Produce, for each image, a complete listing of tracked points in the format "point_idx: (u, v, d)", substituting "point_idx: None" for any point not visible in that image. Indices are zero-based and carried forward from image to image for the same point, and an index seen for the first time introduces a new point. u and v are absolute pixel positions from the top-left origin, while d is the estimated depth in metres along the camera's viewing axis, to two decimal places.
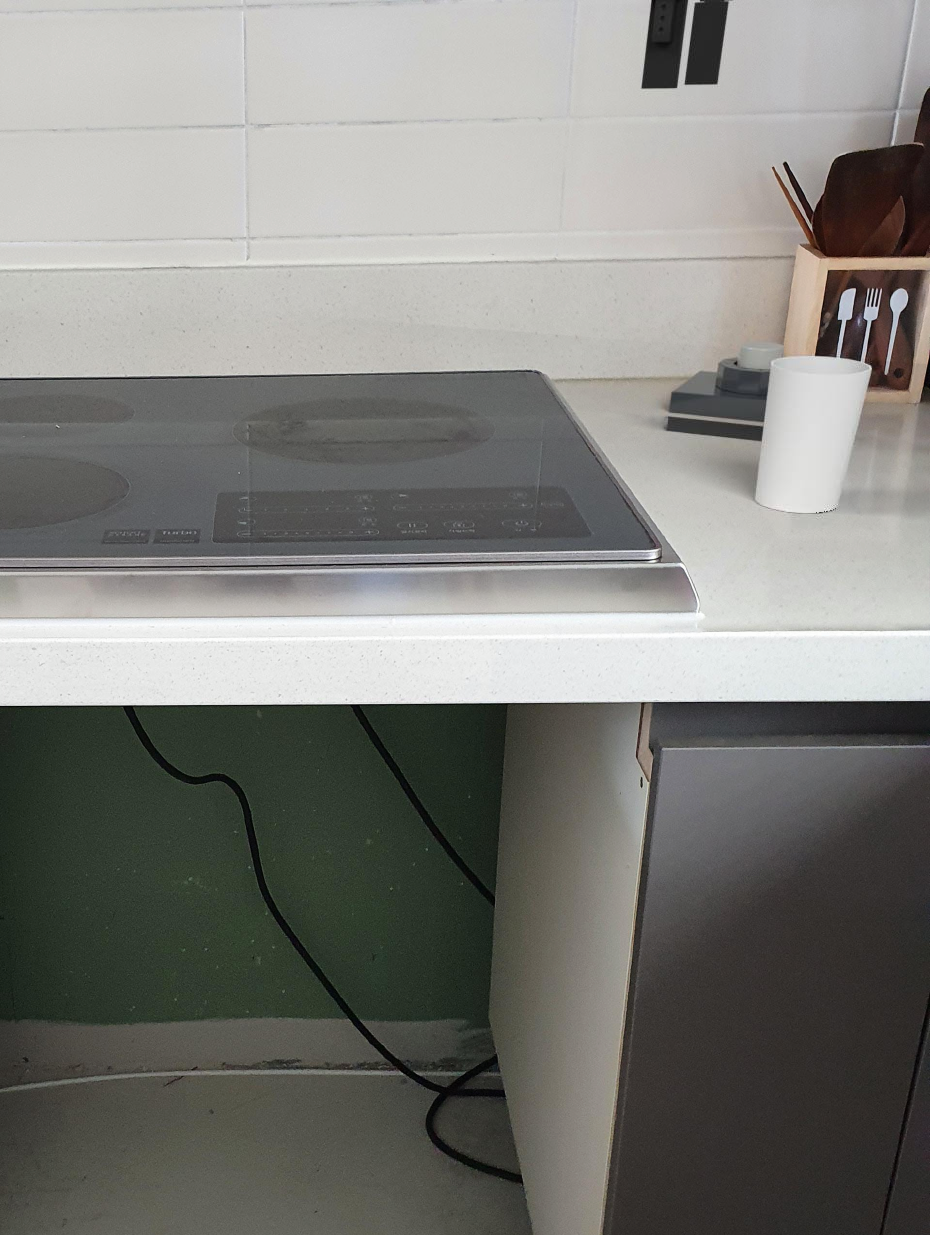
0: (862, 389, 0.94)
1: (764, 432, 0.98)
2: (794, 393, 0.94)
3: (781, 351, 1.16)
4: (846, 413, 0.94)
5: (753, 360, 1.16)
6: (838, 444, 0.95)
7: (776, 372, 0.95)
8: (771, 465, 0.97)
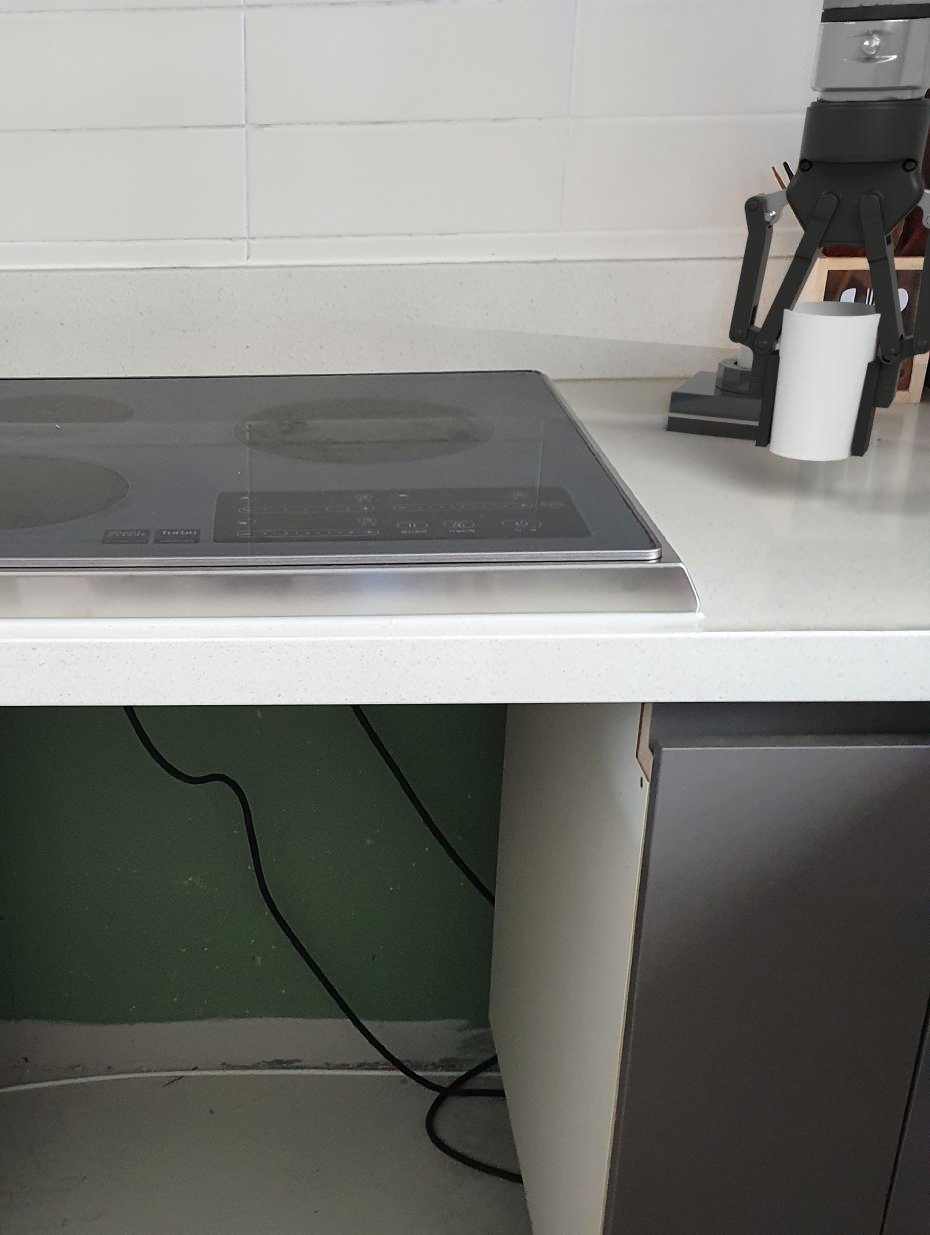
0: (877, 332, 0.92)
1: (778, 378, 0.96)
2: (808, 337, 0.92)
3: None
4: (861, 356, 0.92)
5: None
6: (854, 389, 0.93)
7: (789, 316, 0.93)
8: (785, 412, 0.96)
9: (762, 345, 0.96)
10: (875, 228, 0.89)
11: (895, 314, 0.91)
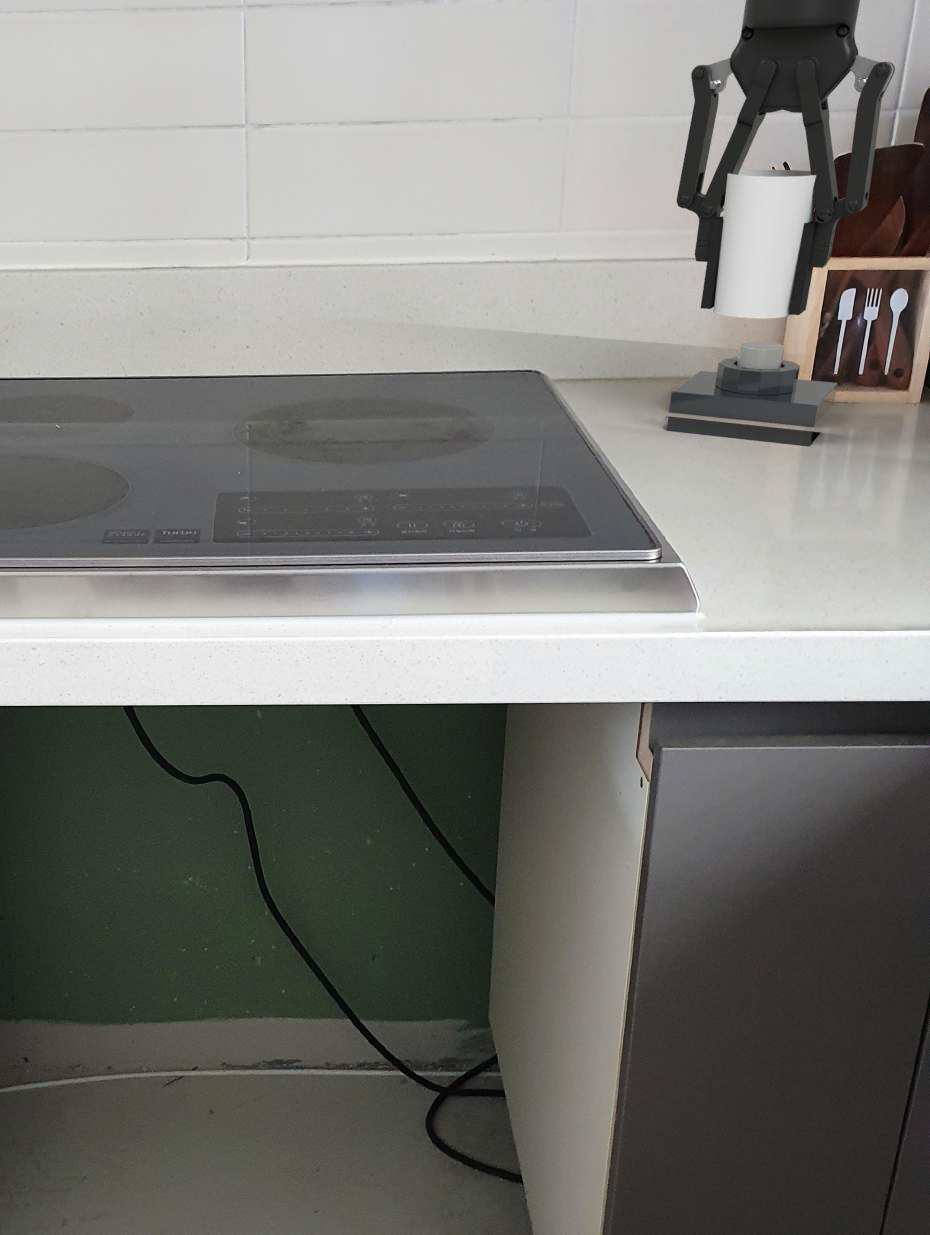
0: (813, 193, 0.98)
1: (722, 241, 1.02)
2: (748, 197, 0.99)
3: (781, 351, 1.16)
4: (798, 216, 0.98)
5: (753, 360, 1.16)
6: (791, 248, 0.99)
7: (732, 179, 1.00)
8: (728, 273, 1.02)
9: (707, 209, 1.02)
10: (811, 92, 0.95)
11: (829, 175, 0.97)
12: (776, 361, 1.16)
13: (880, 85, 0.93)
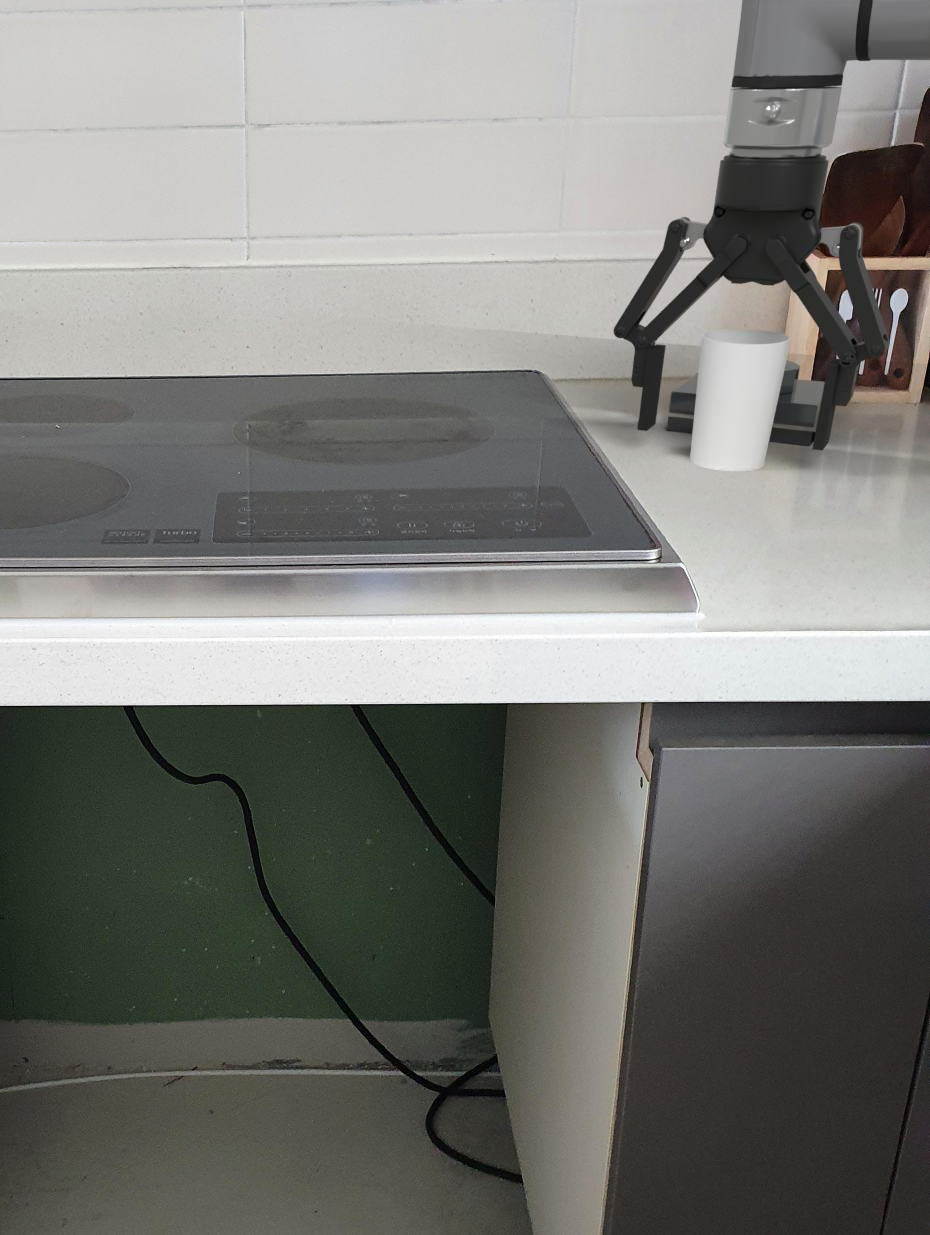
0: (782, 358, 1.04)
1: (697, 397, 1.08)
2: (721, 361, 1.04)
3: None
4: (768, 379, 1.04)
5: None
6: (761, 408, 1.05)
7: (705, 343, 1.05)
8: (702, 427, 1.08)
9: (642, 340, 1.08)
10: (779, 268, 1.01)
11: (837, 324, 1.01)
12: None
13: (854, 245, 0.98)
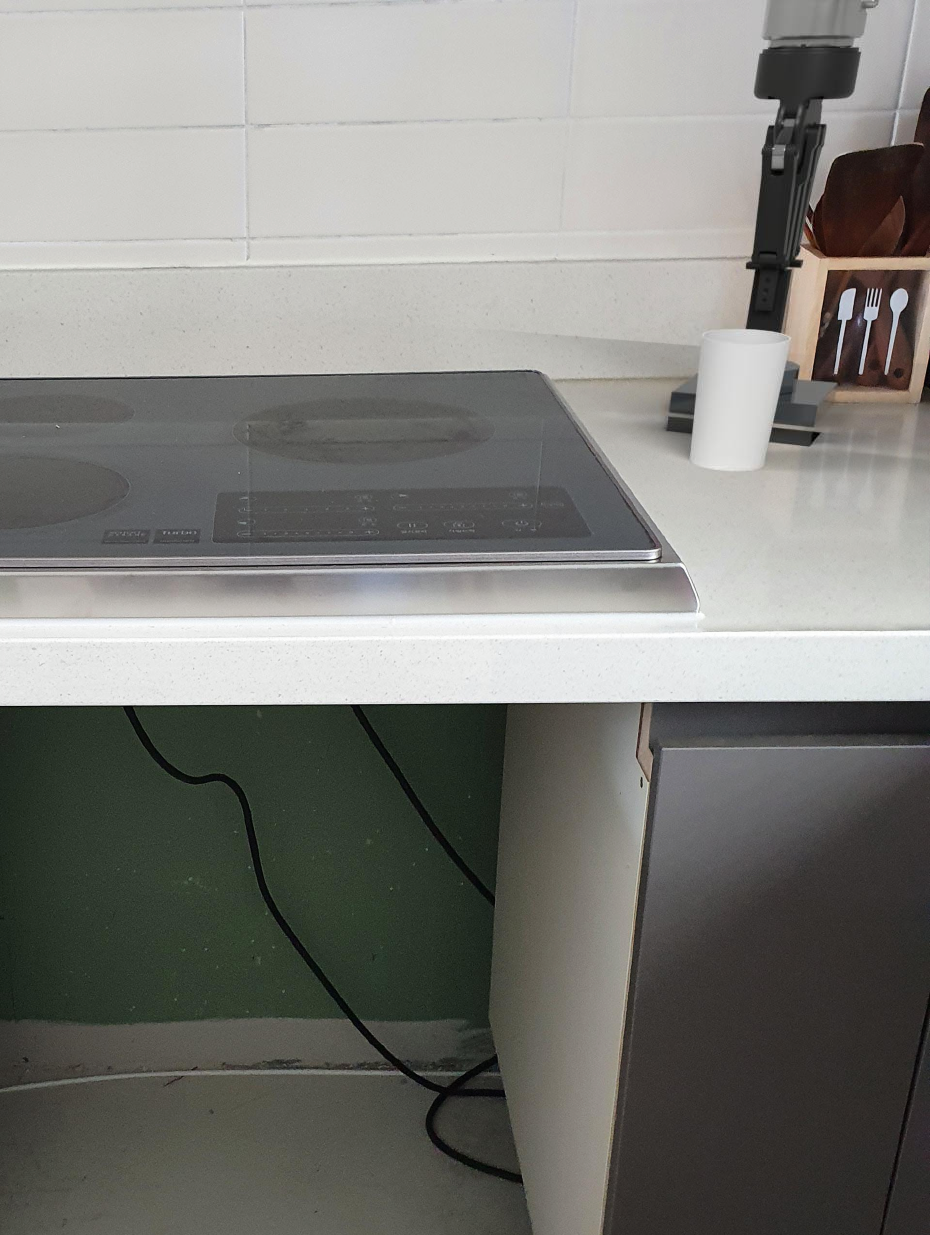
0: (782, 358, 1.04)
1: (697, 397, 1.08)
2: (721, 361, 1.04)
3: None
4: (768, 379, 1.04)
5: None
6: (761, 408, 1.05)
7: (705, 343, 1.05)
8: (702, 428, 1.08)
9: (789, 263, 1.12)
10: (819, 151, 1.11)
11: (798, 228, 1.14)
12: None
13: (819, 154, 1.14)
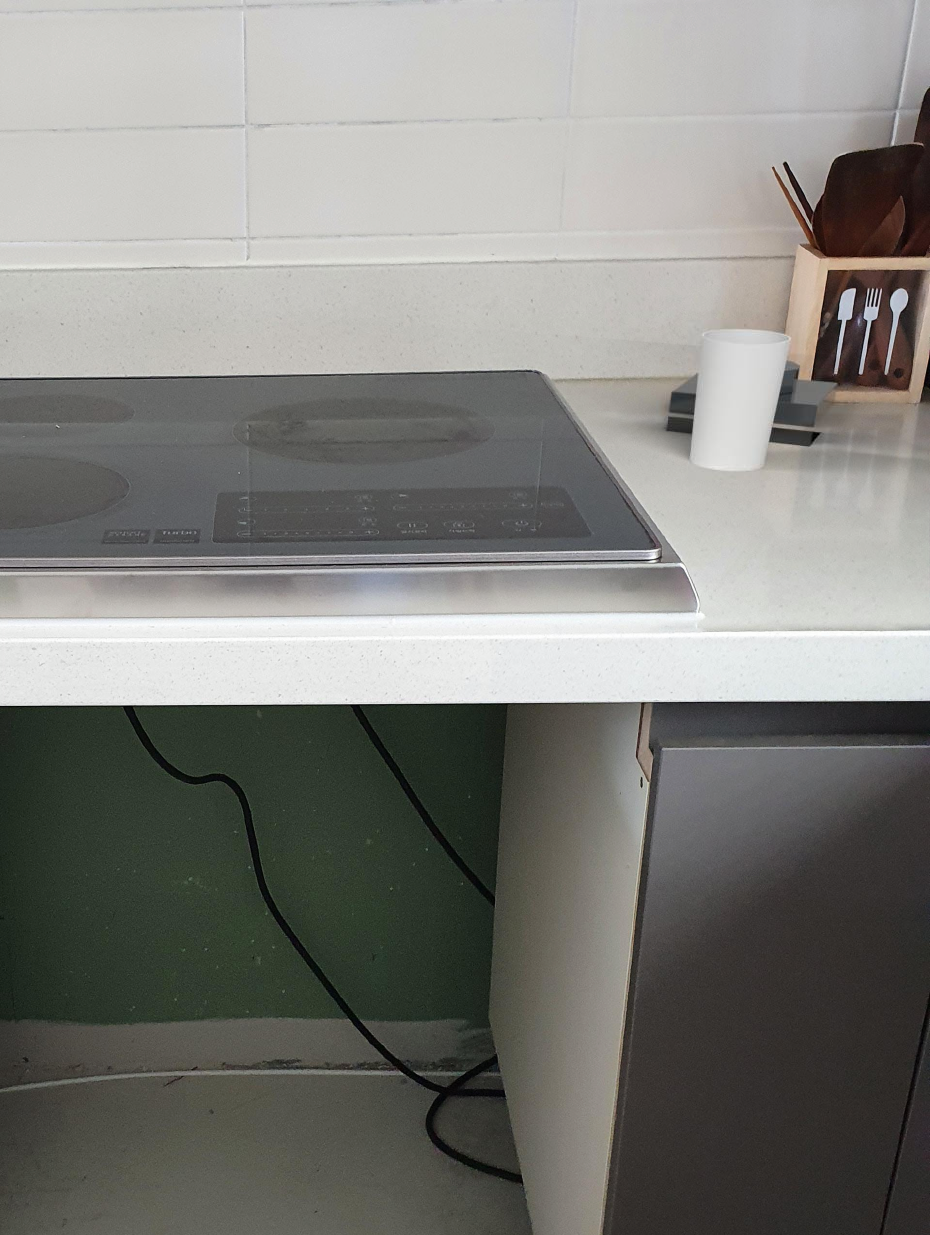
0: (782, 358, 1.04)
1: (697, 397, 1.08)
2: (721, 361, 1.04)
3: None
4: (768, 379, 1.04)
5: None
6: (761, 408, 1.05)
7: (705, 343, 1.05)
8: (702, 427, 1.08)
9: None
10: None
11: None
12: None
13: None
